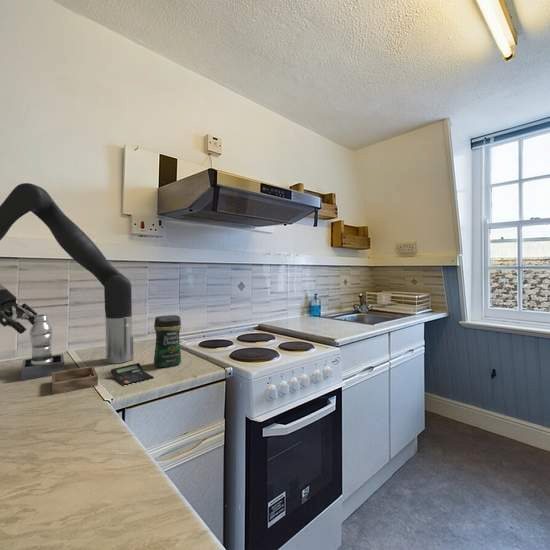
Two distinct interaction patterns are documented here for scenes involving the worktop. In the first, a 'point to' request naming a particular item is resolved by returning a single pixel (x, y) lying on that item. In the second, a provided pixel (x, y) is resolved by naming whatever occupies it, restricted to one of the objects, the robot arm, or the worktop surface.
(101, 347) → the worktop surface
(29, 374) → the gray square tray
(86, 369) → the wooden square tray
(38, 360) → the silver metal bottle
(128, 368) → the calculator
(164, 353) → the coffee jar
